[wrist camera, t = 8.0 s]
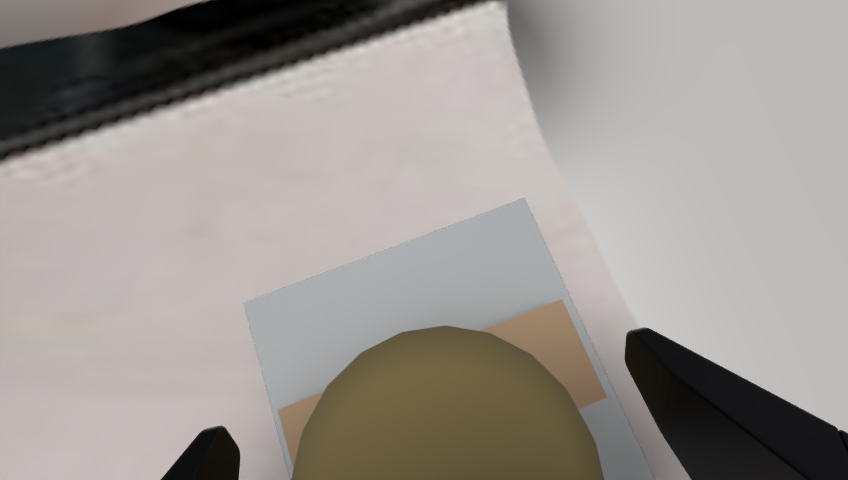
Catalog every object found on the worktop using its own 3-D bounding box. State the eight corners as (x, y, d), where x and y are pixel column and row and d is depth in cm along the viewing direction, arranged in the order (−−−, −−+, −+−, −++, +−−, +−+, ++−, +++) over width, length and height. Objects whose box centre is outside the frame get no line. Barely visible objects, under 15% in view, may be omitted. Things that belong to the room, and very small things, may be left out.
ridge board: (656, 499, 18) (697, 528, 15) (341, 632, 17) (321, 689, 14) (520, 204, 21) (533, 181, 18) (252, 304, 21) (221, 297, 18)
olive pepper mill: (554, 428, 16) (783, 585, 5) (423, 533, 15) (387, 951, 5) (458, 297, 17) (489, 215, 7) (333, 388, 17) (147, 457, 6)
